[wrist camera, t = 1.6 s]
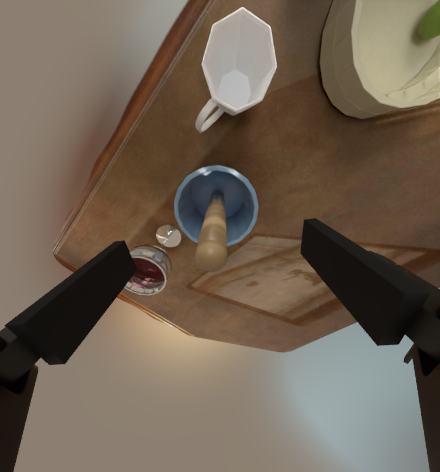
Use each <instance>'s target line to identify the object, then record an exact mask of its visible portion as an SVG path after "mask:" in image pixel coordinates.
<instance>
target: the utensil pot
mask: <svg viewBox="0 0 440 472" xmlns="http://www.w3.org/2000/svg"><path fill="white" fill-rule="evenodd" d="M215 190H221V191H222V192H223V193H224V198H225V215H226V231H227V247H228V246H231V245H233V244H235V243H237V242H240V241H241V240H242V239H243V238H244V237H245V236H247V235H248V234H249V233H250V231H251V230H252V228H253V226H254V224H255V222H256V220H257V215H258V208H259V205H258V200H257V195H256V192H255V190H254V188H253V187H252V185H251V184H250V182H249V181H248V179H247V178H246V177H244V176H243V175H242V174H241V173H239V172H238V171H237V170H235V169H234V168H233V167H231V166H229V165H226V164H221V163H216V164H209V165H206V166H204V167H202V168H200V169H198V170H196V171H195V172H193V173H191V174H190V175H188V176H187V177H186V178H185V180H184V181H183V182H182V183H181V185H180V186H179V187H178V189H177V193H176V196H175V200H174V210H175V218H176V220H177V222H178V224H179V226H180V228H181V230H182V231H183V232H184V233H185V234H186V235H187V236H188V237H189V238H190V239H191V240H193V241H195V242H196V243H198V239H199V236H200V232H201V229H202V226H203V222H204V219H205V215H206V212H207V208H208V205H209V202H210V198H211V195H212V193H213V191H215Z"/></svg>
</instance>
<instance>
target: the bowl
mask: <svg viewBox="0 0 440 472" xmlns="http://www.w3.org/2000/svg"><path fill="white" fill-rule="evenodd" d="M437 1H438V0H333V2H332V5H331V8H330V11H329V15H328V18H327V21H326V24H325V27H324V30H323V36H322V45H321V54H320V68H321V75H322V82H323V87H324V89H325V91H326V93H327V95H328V97H329V99H330V101H331V103H332V104H333V105H334V106H335V107H336V108H338V109H339V110H340V111H341V112H343V113H344V114H345V115H348V116H352V117H356V118H360V119H366V118H373V117H379V116H384V115H388V114H391V113H395V112H399V111H403V110H406V109H410V108H414V107H418V106H422V105H425V104H428V103H430V102H432V101H434V100H436V99H438V98H440V35H439V36H437V37H435V38H433V39H429V40H423V39H421V38H420V37H419V36H418V27H419V24H420V22H421V20H422V18H423V16H424V15H425V13H426V12H427V11H428V10H429V9H430V8H431V6H432V5H434V4H435V3H436V2H437Z"/></svg>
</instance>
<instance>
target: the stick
mask: <svg viewBox="0 0 440 472" xmlns="http://www.w3.org/2000/svg"><path fill="white" fill-rule="evenodd" d="M227 258H228V247H227V231H226V215H225V198H224V193H223V192H222V191H221V190H215V191H213V193H212V195H211V198H210V202H209V205H208V208H207V212H206V215H205V219H204V222H203V226H202V229H201V232H200V236H199V239H198V243H197V246H196V250H195V260H196V263H197V265H198V266H199V267H200V268H201V269H203V270H205V271H208V272H214V271H218V270H220V269H221V268H222V267H223V266H224V265H225V264H226V262H227Z"/></svg>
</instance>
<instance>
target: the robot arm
mask: <svg viewBox="0 0 440 472" xmlns="http://www.w3.org/2000/svg"><path fill="white" fill-rule="evenodd" d="M301 255H302V256H303V257H304V258H305V259H306V261H307V262H308V263H309V264H310V265H311V267H312V268H313V269H314V270H315V271H316V273H317V274H318V275H319V276H320V277H321V279H322V280H323V281H324V282H325V283H326V285H327V286H328V287H329V288H330V289H331V291H332V292H333V293H334V294H335V295H336V297H337V298H338V299H339V300H340V301H341V303H342V304H343V305H344V306H345V307H346V309H347V310H348V311H349V312H350V313H351V315H352V316H353V317H354V318H355V319H356V321H357V322H358V323H359V324H360V325H361V326H362V328H363V329H364V330H365V331H366V333H368V335H369V336H370V337H371V339H372V340H373V341H374V342H375V343H376V344H377V346H379V345H397V344H399V343H400V341H401V340H402V338H403V336H404V335H406V336H408V337H409V338H410V339H411V340H412V341H413V342H414V344H413V346H412V347H411V349H410V350H409V351H408V353H407V354H406V356H405V358H404V362H405V363H407V364H408V363H409V362H410V360H411V359H413V364H414V370H415V377H416V383H417V390H418V396H419V403H420V408H421V416H422V423H423V429H424V435H425V442H426V448H427V455H428V462H429V468H430V472H440V289H438V288H437V287H435V286H433V285H432V284H430V283H428V282H427V281H425V280H423V279H421V278H420V277H418V276H416V275H415V274H413V273H411V272H410V271H406V269H405V268H403V267H401V266H400V265H396V263H395V262H393V261H391V260H390V259H388V258H386V257H385V256H382V255H380V254H377V253H374V252H372V251H367V250H365V249H363V248H362V247H360V246H359V245H357V244H356V243H354V242H352V241H351V240H349V239H348V238H346V237H344V236H343V235H341V234H340V233H338V232H336V231H335V230H333V229H332V228H330V227H329V226H327V225H325V224H324V223H322V222H321V221H319V220H317V219H316V218H314V219H305V220H304V225H303V234H302V243H301ZM137 270H138V269H137V267H136V265H135V263H134V261H133V258H132V256H131V254H130V252H129V250H128V247H127V245H126V243H125V241H116V242H114V243H112V244H111V245H110V246H108V247H107V248H106V249H104V250H103V251H102V252H100V253H99V254H98V255H97V256H95V257H94V258H93V259H91V260H90V261H89V262H87V263H86V264H85V265H83V266H82V267H81V268H79V269H78V270H77V271H76V272H74V273H73V274H72V275H71V276H69V277H68V278H66V279H65V280H64V281H63V282H61V283H60V284H58V285H57V286H56V287H54V288H53V289H52V290H51V291H49V292H48V293H47V294H45V295H44V296H43V297H42V298H40V299H39V300H38V301H36V302H35V303H34V304H32V305H31V306H30V307H28V308H27V309H26V310H24V311H23V312H22V313H20V314H19V315H18V316H17V317H15V318H14V319H12V320H11V321H10V322H8V323H7V324H6V325H5V326H6V327H5V328H4V329H2V330H1V331H0V472H13V471H14V466H15V463H16V459H17V455H18V451H19V447H20V443H21V439H22V434H23V430H24V426H25V422H26V419H27V414H28V410H29V406H30V402H31V398H32V394H33V390H34V386H35V382H36V378H37V374H38V367H37V366H36V365H35V363H36V362H37V361H38V360H39V359H40V358H42V359H43V360H44V361H45V362H47V363H48V364H49V365H56V364H65V363H66V362H67V360H68V359H69V358H70V357H71V355H72V354H73V353H74V352H75V350H76V349H77V348H78V346H79V345H80V344H81V342H82V341H83V340H84V339H85V337H86V336H87V335H88V333H89V332H90V331H91V330H92V328H93V327H94V326H95V324H96V323H97V321H98V320H99V319H100V318H101V316H102V315H103V314H104V313H105V311H106V310H107V309H108V308H109V306H110V305H111V304H112V302H113V301H114V300H115V298H116V297H117V296H118V295H119V293H120V292H121V291H122V289H123V288H124V287H125V285H126V284H127V283H128V282H129V280H130V279H131V278H132V276H133V275H134V274H135V273H136V271H137Z"/></svg>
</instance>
